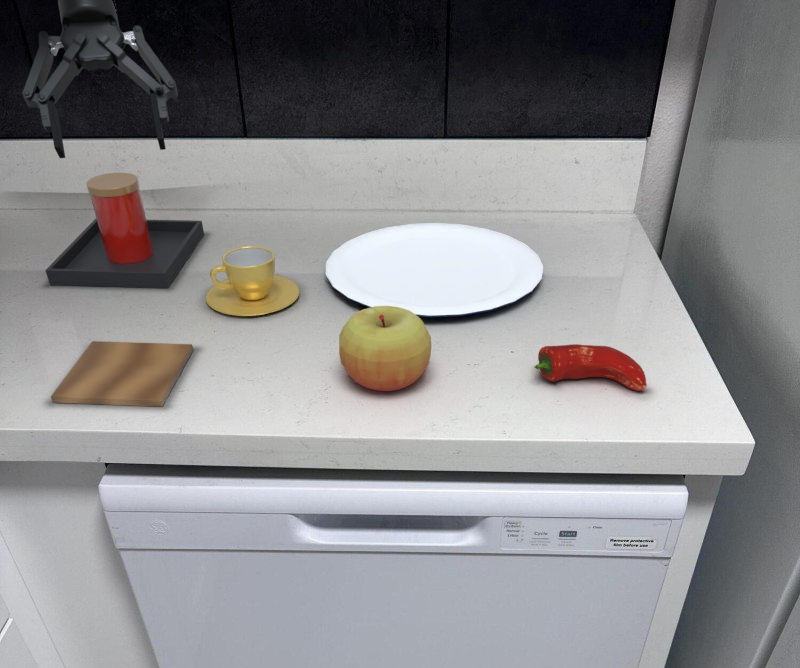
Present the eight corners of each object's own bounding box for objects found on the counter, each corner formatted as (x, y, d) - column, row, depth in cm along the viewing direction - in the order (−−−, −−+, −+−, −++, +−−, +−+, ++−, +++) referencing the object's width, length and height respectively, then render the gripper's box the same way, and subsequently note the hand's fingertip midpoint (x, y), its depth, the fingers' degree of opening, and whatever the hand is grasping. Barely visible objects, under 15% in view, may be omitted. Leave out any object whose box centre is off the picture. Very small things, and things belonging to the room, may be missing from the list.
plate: (342, 337, 94) (341, 324, 93) (313, 242, 115) (312, 230, 114) (574, 313, 98) (576, 300, 97) (505, 225, 119) (506, 214, 118)
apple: (349, 409, 82) (345, 340, 77) (333, 363, 89) (328, 296, 84) (440, 396, 84) (442, 327, 79) (417, 352, 91) (417, 286, 86)
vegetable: (539, 367, 81) (652, 380, 82) (539, 327, 84) (649, 340, 84) (528, 393, 85) (636, 406, 86) (528, 354, 88) (633, 367, 88)
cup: (287, 271, 108) (282, 232, 104) (310, 309, 99) (306, 267, 96) (199, 285, 105) (191, 245, 101) (215, 325, 96) (207, 283, 93)
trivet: (52, 402, 84) (50, 396, 83) (94, 347, 93) (92, 340, 92) (162, 406, 83) (160, 400, 83) (193, 350, 92) (192, 344, 91)
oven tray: (49, 285, 105) (44, 270, 104) (99, 232, 119) (95, 218, 117) (168, 288, 104) (164, 273, 103) (204, 234, 118) (201, 220, 116)
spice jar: (99, 263, 109) (78, 188, 102) (115, 244, 114) (97, 172, 107) (145, 264, 108) (128, 189, 102) (160, 245, 113) (144, 172, 106)
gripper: (181, 14, 115) (205, 155, 114) (0, 25, 111) (24, 170, 110) (174, -25, 108) (200, 125, 107) (-19, -15, 104) (6, 141, 103)
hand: (111, 148), depth 109 cm, fingers open, 13 cm apart
